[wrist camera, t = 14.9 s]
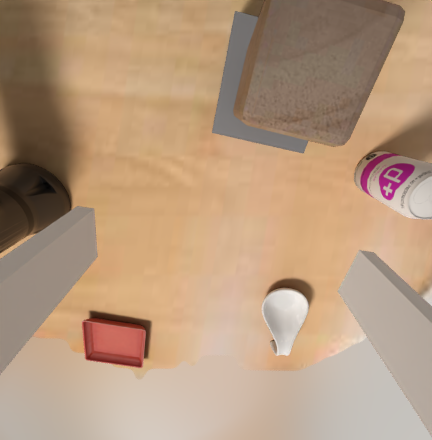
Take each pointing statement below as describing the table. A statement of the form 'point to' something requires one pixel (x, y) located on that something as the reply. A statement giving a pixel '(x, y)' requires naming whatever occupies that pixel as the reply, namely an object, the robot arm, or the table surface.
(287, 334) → the spoon rest
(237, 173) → the table surface
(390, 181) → the supplement can
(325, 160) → the table surface
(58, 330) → the table surface
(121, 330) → the plant saucer
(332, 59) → the wooden block
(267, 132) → the charcoal base block
